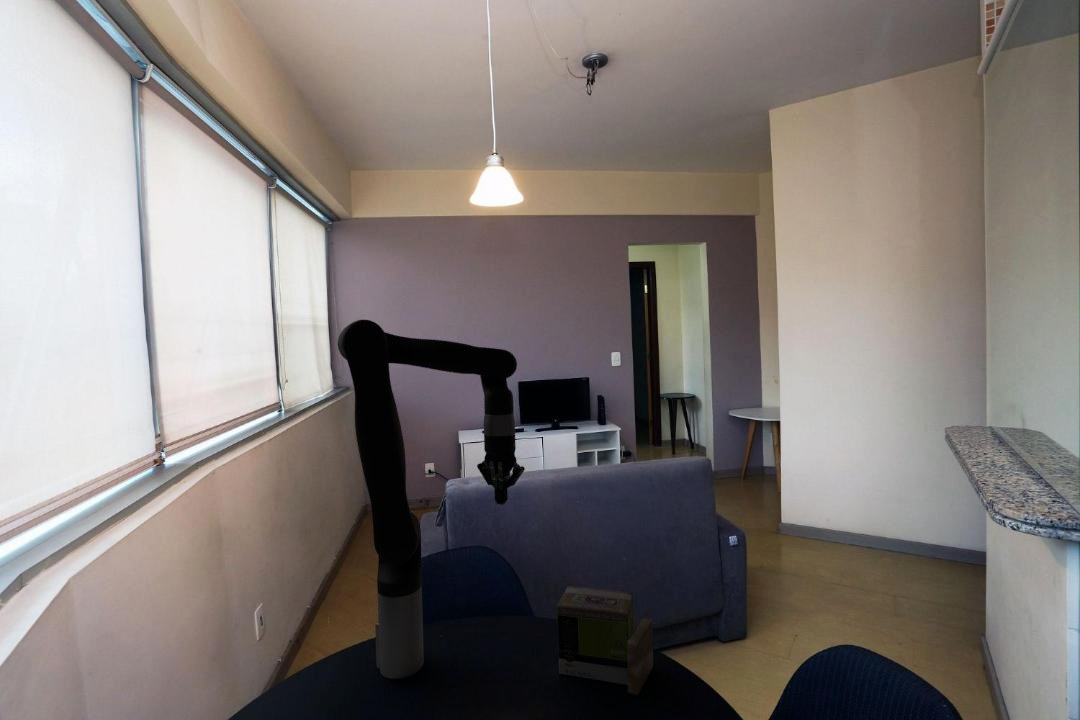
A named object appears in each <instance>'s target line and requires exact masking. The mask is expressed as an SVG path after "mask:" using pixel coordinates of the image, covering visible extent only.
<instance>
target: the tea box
mask: <svg viewBox="0 0 1080 720" xmlns="http://www.w3.org/2000/svg"><path fill="white" fill-rule="evenodd" d="M633 595H634V593H633V592H629V591H622V590H609V589H600V588H591V587H583V586H572V585H567V587H566V589H565V590H564V592H563V594H562V596H561V598H560V599H559V602H558V603H557V606H556V622H557V624H556V625H557V649H558V651H557V653H558V671H559V674H561V675H565V676H570V677H578V678H585V679H589V680H595V681H597V680H598V681H601V682H607V683H612V684H613V683H614V684H618V685H626V686H628V672H627V641H628V640H629V638H630V637H631V635H632V634H633V632H634V631H635V617H634V616H635V615H634V614H635V612H634V609H635V608H634V596H633Z"/></svg>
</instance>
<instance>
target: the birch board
mask: <svg viewBox="0 0 1080 720" xmlns="http://www.w3.org/2000/svg"><path fill="white" fill-rule="evenodd" d="M653 639H654V638H653V620H652V619H647V618H642V619H641V620H640V622H639V624H638V625H637V626H636V628H634V632H633V634H632V635H631V637H630V638H629V640H628V641H627V672H628V685H627V692H628V693H629V694H631V695H634V696H639V694H640V692H641V690H642V689H643V686H644V685H645V683H646V681H647V679H648V677H649V675H650V673H651V672H652V670H653V668H654V646H653V645H654V644H653V643H654V641H653Z"/></svg>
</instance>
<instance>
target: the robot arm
mask: <svg viewBox="0 0 1080 720" xmlns="http://www.w3.org/2000/svg"><path fill="white" fill-rule="evenodd" d="M337 349H338V351H339V353H340V355H341V356H342V358H343V359H345V360H346V361H347V365H348V368H349V372H350V375H351V380H352V384H353V391H354V428H355V429H354V430H355V439H356V445H357V448H358V455H359V460H360V462H361V467H362V472H363V476H364V481H365V485H366V488H367V492H368V496H369V499H370V500H369V501H370V508H371V517H372V519H371V520H372V528H373V529H372V531H373V533H372V535H373V546H374V550H375V552H376V554H377V557H378V562H377V563H378V566H377V576H376V577H377V578H376V587H377V589H376V590H377V612H378V614H377V615H378V617H377V619H378V620H377V622H376V623H375V627H374V628H375V629H374V630H375V654H376V655H375V657H376V668H378V669H379V673H380V675H381V676H383V677H384V678H386V679H390V680H392V679H393V680H399V679H400V680H401V679H405V678H408V677H410V676H413V675H415V674H416V673H418V672H419V671H420V670H421V669H422V668H423V666H424V663H425V662H424V659H425V658H424V627H423V626H424V624H423V623H424V621H423V619H424V618H423V593H422V592H423V589H422V587H423V586H422V567H423V566H422V564H423V563H422V561H423V560H422V559H423V558H422V529H421V522H420V521H419V519H418V517H417V516H416V515H415V514H414V513H413V512H412V511H411V509H410V505H409V501H408V494H407V485H406V484H407V464H406V463H407V462H406V450H405V449H406V448H405V442H404V441H405V440H404V436H403V430H402V427H401V426H402V425H401V420H400V417H399V411H398V408H397V404H396V403H397V402H396V399H395V395H394V392H393V388H392V383H391V376H390V374H391V373H390V365H389V364H397V365H407V366H411V367H412V366H413V367H418V368H423V369H424V368H425V369H430V370H435V371H439V372H441V371H442V372H446V373H447V372H448V373H454V374H461V375H477V376H480V381H481V388H482V392H483V395H484V400H483V403H484V404H483V405H484V406H483V407H484V409H483V410H484V416H483V417H484V418H483V419H484V420H483V444H484V446H483V447H484V449H483V450H484V453H485V454H484V455H485V456H484V460H483V461H482V462H479V463H477V465H476V466H477V467H476V468H477V469H478V470H479V473H480V474H481V476H482V477H483V479H484V481H485V483H486V484H487V485H488V486H492V487H493V489H494V501H495V504H496V505H505V504H506V503H507V501H508V500H509V498H508V496H509V495H508V494H509V493H508V492H509V491H508V489H509V488H511V487H513V486H515V484H516V483H517V482H518V480H519V478H520V477H521V476H522V474H523V473H524V472H525V470H526V469H525V466H523V465H520V464H519V463H518V462H517V457H516V454H515V453H516V448H517V447H516V421H515V413H514V411H515V410H514V396H513V395H514V394H513V392H512V390H511V389H510V388H509V387H508V381H507V379H509V378H511V377H512V376H513V375H514V374H515V372H516V371H517V367H518V362H517V359H516V357H515V355H514V354H513V353H512V352H511V351H509V350H507V349H502V348H495V347H486V346H485V347H484V346H475V345H471V344H468V343H462V342H456V341H451V340H450V341H449V340H443V339H429V338H417V337H409V336H408V337H407V336H401V335H396V334H392V333H389V332H386V331H384V329H383V328H382V326H380V325H379V324H378V323H377V322H375V321H372V320H369V319H357V320H355V321H352V322H351V323H349V324H348V325H346V327H344V328H343V329H342V330H341V332H340V333H339V335H338V338H337Z"/></svg>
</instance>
